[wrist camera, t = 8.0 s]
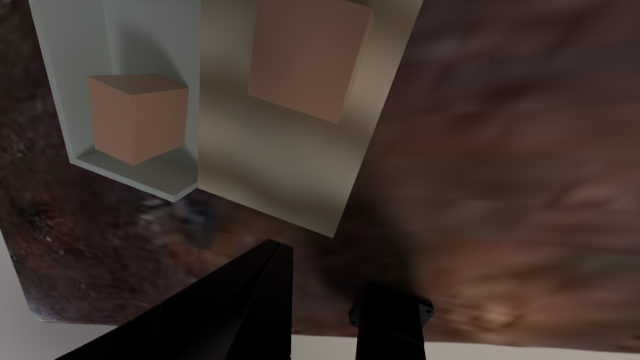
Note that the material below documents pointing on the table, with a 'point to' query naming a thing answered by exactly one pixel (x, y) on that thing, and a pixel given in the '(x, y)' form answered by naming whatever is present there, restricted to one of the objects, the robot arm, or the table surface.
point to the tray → (116, 59)
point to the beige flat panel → (288, 120)
